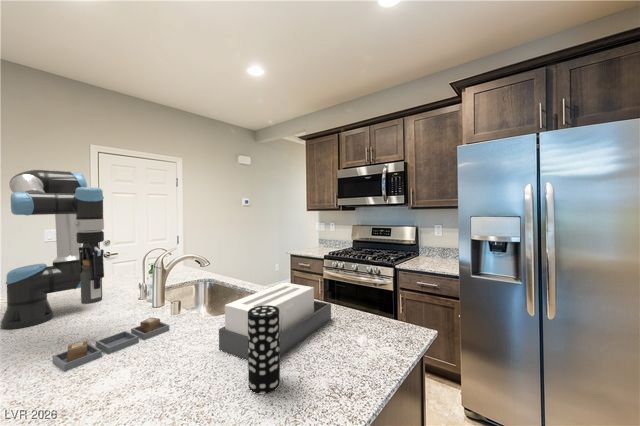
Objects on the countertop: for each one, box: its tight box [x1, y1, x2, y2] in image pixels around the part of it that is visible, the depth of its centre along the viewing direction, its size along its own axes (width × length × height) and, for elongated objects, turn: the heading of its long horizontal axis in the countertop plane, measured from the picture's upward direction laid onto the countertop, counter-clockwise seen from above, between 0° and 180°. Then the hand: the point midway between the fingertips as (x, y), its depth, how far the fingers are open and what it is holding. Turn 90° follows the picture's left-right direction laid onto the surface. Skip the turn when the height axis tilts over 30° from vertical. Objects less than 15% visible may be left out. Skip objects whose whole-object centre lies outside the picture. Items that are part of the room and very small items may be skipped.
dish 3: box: [130, 321, 170, 341], centre depth 106 cm, size 9×9×2 cm
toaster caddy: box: [218, 300, 332, 361], centre depth 106 cm, size 21×40×7 cm, turn 149°
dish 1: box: [52, 343, 103, 372], centre depth 87 cm, size 9×9×2 cm
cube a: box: [139, 317, 161, 333], centre depth 106 cm, size 4×4×5 cm
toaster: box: [224, 281, 315, 337], centre depth 105 cm, size 35×16×15 cm, turn 149°
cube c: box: [66, 340, 88, 362], centre depth 87 cm, size 4×4×5 cm
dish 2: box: [95, 330, 140, 355], centre depth 97 cm, size 9×9×2 cm
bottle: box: [80, 259, 103, 305], centre depth 99 cm, size 6×6×15 cm
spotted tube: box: [247, 305, 281, 394], centre depth 75 cm, size 8×8×20 cm
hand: (91, 296), depth 100 cm, fingers closed on bottle, 6 cm apart
